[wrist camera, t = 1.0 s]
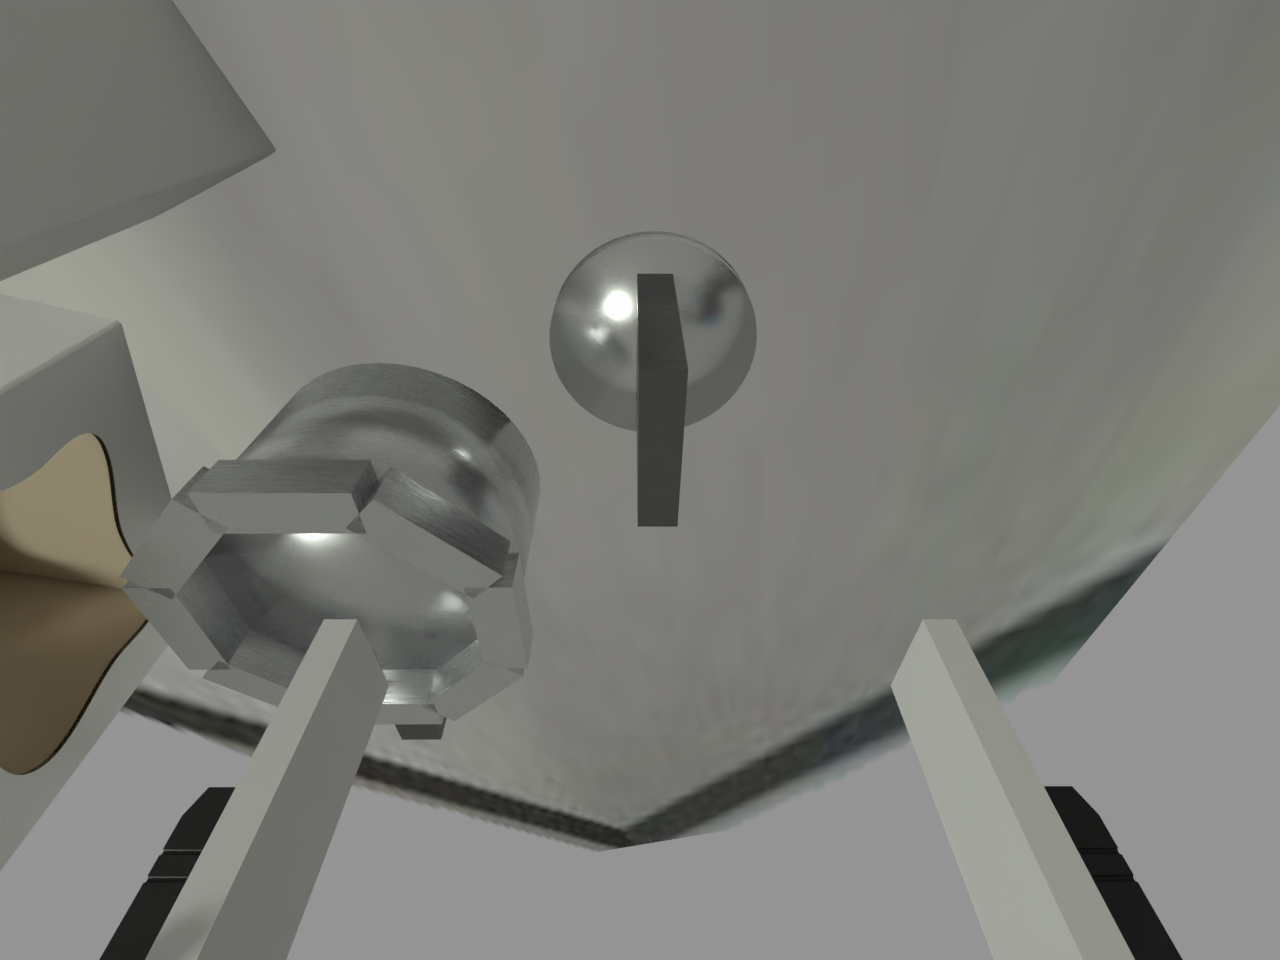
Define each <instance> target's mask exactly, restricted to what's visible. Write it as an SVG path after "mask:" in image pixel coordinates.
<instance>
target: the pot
mask: <svg viewBox="0 0 1280 960" xmlns="http://www.w3.org/2000/svg"><path fill="white" fill-rule="evenodd" d="M539 498H540V476H539V471H538V466H537V463H536V460H535V458H534V455H533V452H532V450H531V448H530V446H529V445H528V443H527V441H526V439H525V438H524V436H523V435H522V433H521V432H520V431H519V429H518V428H517V427H516V425H515V424H514V423H513V422H512V421H511V420H510V419H509V418H508V417H507V416H506V415H505V414H504V412H502V411H501V410H500V409H499V408H498V407H496V406H495V405H494V404H493V403H492V402H491V401H489V400H488V399H486V398H485V397H483V396H482V395H480V394H479V393H477V392H476V391H474V390H473V389H471V388H469V387H467V386H465V385H463V384H462V383H460V382H458V381H456V380H453V379H451V378H448V377H446V376H443V375H441V374H438V373H435V372H432V371H428V370H425V369H421V368H418V367H412V366H406V365H401V364H389V363H368V364H357V365H352V366H346V367H341V368H338V369H335V370H332V371H329V372H327V373H324V374H322V375H321V376H319V377H317V378H315V379H313V380H311V381H310V382H309V383H307V384H306V385H305V386H303V387H302V388H301V389H299V391H298V392H297V393H296V394H295V395H294V396H293V397H292V398H291V399H290V401H289V402H288V403H287V404H286V405H285V406H284V407H283V408H282V409H281V411H280V412H279V413H278V414H277V415H276V416H275V417H274V418H273V419H272V421H271V422H270V423H269V424H268V425H267V426H266V427H265V428H264V429H263V431H262V432H261V433H260V434H259V435H258V436H257V437H256V438H255V439H254V441H253V442H252V443H251V444H250V445H249V446H248V447H247V448H246V449H245V451H244V452H243V453H242V454H241V455H240V456H239V457H238V458H237V459H236V460H218V461H217V462H216V463H215V464H214V465H213V466H212V467H211V468H210V469H209V468H207V467H205V466H203V467H202V468H201V469H200V470H199V471H198V472H197V473H196V474H195V475H194V476H193V477H192V478H191V479H190V480H189V481H188V482H187V483H186V485H185V486H184V487H183V488H182V489H181V490H180V491H179V492H178V493H177V494H176V495H175V496H174V497H173V498H172V499H171V500H170V502H169V503H168V505H167V506H166V508H165V509H164V511H163V512H162V514H161V515H160V517H159V518H158V520H157V521H156V523H155V524H154V526H153V527H152V529H151V530H150V532H149V533H148V535H147V536H146V538H145V539H144V540H143V542H142V543H141V545H140V546H139V548H138V549H137V551H136V552H135V554H134V555H133V557H132V558H131V560H130V561H129V563H128V564H127V566H126V567H125V569H124V570H123V572H122V573H121V575H120V576H119V577H121V578H123V579H125V580H128V582H127V583H126V584H125V585H124V586H123V587H122V588H121V589H122V590H123V591H124V592H125V593H126V595H127V596H128V597H129V598H130V599H131V601H132V602H133V603H134V604H135V605H136V607H137V608H138V609H139V610H140V611H141V613H142V614H143V615H144V616H145V617H146V619H147V620H148V621H149V622H150V623H151V625H152V626H153V627H154V628H155V629H156V631H157V632H158V633H159V634H160V635H161V637H162V638H163V639H164V640H165V642H166V643H167V644H168V645H169V646H170V648H171V649H172V650H173V651H174V652H175V654H176V655H177V656H178V657H179V658H180V660H181V661H182V662H183V663H184V664H185V666H186V667H187V668H188V669H189V670H207V671H206V673H205V675H204V676H203V679H206V680H208V681H211V682H213V683H216V684H219V685H221V686H224V687H227V688H229V689H232V690H234V691H237V692H240V693H242V694H245V695H248V696H250V697H253V698H255V699H258V700H261V701H263V702H266V703H268V704H271V705H274V706H276V707H278V706H279V704H280V702H281V700H282V698H283V696H284V695H285V693H286V691H287V689H288V687H289V685H290V683H291V681H292V679H293V677H294V676H295V674H296V672H297V670H298V668H299V666H300V664H301V662H302V660H303V658H304V657H305V655H306V653H307V651H308V649H309V647H310V645H311V643H312V641H313V639H314V638H315V636H316V634H317V632H318V630H319V628H320V626H321V624H322V622H323V620H324V619H357V620H358V622H359V624H360V626H361V628H362V630H363V632H364V635H365V637H366V639H367V641H368V643H369V645H370V647H371V649H372V651H373V653H374V655H375V657H376V659H377V661H378V663H379V665H380V667H381V669H382V672H383V674H384V676H385V678H386V680H387V682H388V684H389V688H388V691H387V693H386V696H385V699H384V701H383V704H382V707H381V709H380V712H379V715H378V717H377V720H376V723H375V725H387V724H395V726H396V728H397V730H398V733H399V735H400V737H401V739H402V740H441V738H442V734H443V731H444V727H445V723H446V719H447V718H448V719H450V720H453V721H456V720H457V719H459V718H460V717H462V716H463V715H465V714H467V713H468V712H470V711H471V710H473V709H474V708H476V707H477V706H479V705H480V704H482V703H484V702H485V701H487V700H488V699H490V698H491V697H493V696H494V695H496V694H497V693H499V692H501V691H502V690H504V689H505V688H507V687H508V686H510V685H511V684H513V683H514V682H516V681H518V680H519V679H521V678H522V677H523V675H524V669H525V668H528V663H529V657H530V651H531V645H532V638H533V629H532V623H531V617H530V612H529V606H528V600H527V594H526V588H525V583H524V577H525V572H526V567H527V561H528V556H529V551H530V546H531V541H532V536H533V530H534V525H535V520H536V515H537V510H538V505H539Z"/></svg>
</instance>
